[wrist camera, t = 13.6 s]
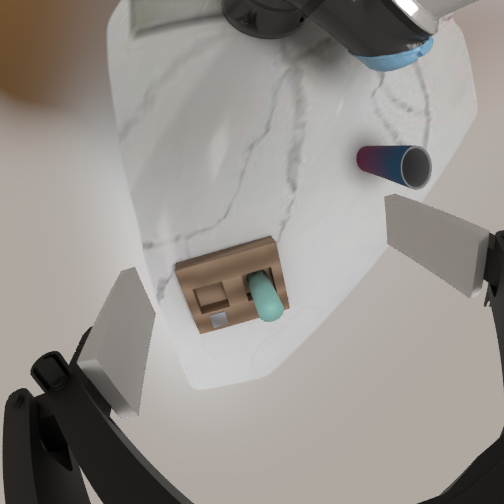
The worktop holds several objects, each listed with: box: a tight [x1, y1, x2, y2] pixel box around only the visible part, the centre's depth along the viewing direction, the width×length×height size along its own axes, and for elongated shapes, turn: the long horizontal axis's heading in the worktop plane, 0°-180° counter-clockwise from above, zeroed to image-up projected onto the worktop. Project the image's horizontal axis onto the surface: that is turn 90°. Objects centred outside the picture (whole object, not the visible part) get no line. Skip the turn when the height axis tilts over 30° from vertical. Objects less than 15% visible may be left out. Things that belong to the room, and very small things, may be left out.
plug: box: [246, 269, 284, 322], centre depth 49 cm, size 4×4×12 cm
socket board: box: [175, 236, 290, 334], centre depth 53 cm, size 14×18×4 cm
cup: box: [357, 146, 432, 190], centre depth 44 cm, size 7×7×15 cm
